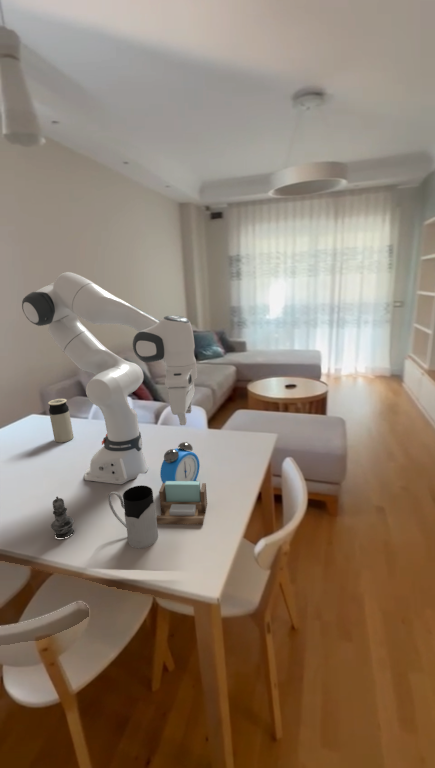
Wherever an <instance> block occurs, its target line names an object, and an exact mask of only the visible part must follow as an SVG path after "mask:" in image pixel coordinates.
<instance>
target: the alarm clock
mask: <svg viewBox="0 0 435 768" xmlns="http://www.w3.org/2000/svg"><path fill="white" fill-rule="evenodd" d="M177 446H178V447H176V448H172V449H171V448H170V449H168V450H166V451H165V453H164V455H163V461H162V463H161V465H160V471H159V472H160V474H159V475H160V479H161V482H162V484H163V483H166V481H197V480H198V479H197V478H198V476H199V472H200V466H201V465H200V459H199V457H198V454H196V452H194V451H193V450H194V449H193V448H194V447H193V445H192V444H191V443H189V442H188V441H185V442H180V443H179V444H178V445H177Z"/></svg>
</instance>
